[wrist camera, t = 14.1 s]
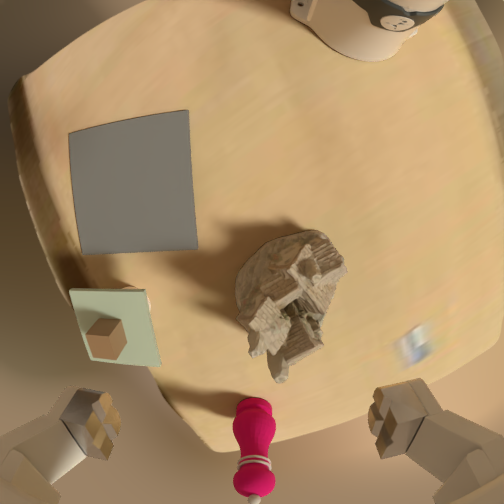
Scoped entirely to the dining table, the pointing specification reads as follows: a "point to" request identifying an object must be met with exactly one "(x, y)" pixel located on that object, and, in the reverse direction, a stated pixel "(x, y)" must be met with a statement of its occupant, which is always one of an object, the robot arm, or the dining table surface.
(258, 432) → the pepper mill
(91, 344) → the lid
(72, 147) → the mat
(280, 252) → the ceramic cottage
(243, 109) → the dining table surface
